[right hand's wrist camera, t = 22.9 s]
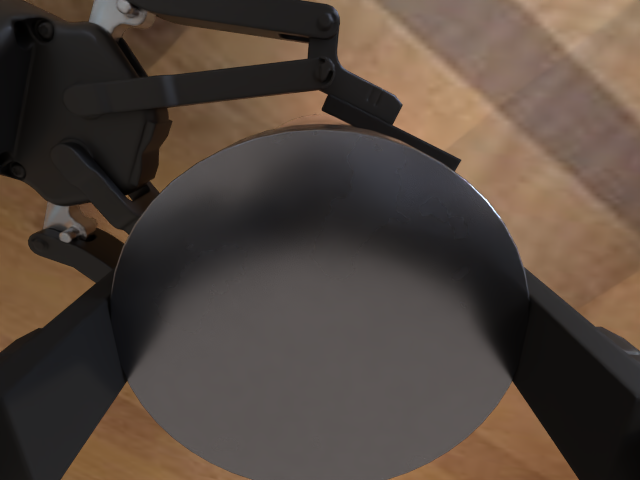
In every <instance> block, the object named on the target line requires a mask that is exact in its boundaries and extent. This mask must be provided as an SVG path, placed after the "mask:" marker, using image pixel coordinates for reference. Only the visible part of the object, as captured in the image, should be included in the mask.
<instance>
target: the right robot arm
mask: <svg viewBox="0 0 640 480" xmlns="http://www.w3.org/2000/svg"><path fill="white" fill-rule="evenodd" d="M115 269H116V267H115V268H114V269H113V270H111V271H110V272H109V273H108V274H107V275H105V276H104V277H103V278H102V279H101V280H100V281H98V282H97V283H96V284H95V285H94V286H92V287H91V288H90V289H89V290H88V291H86V292H85V293H84V294H83V295H82V296H80V297H79V298H78V299H77V300H76V301H74V302H73V303H72V304H71V305H70V306H68V307H67V308H66V309H65V310H64V311H62V312H61V313H60V314H59V315H58V316H56V317H55V318H54V319H53V320H52V321H50V322H49V323H48V324H47V325H46V326H45V327H43V328H38V329H36V330H34V331H32V332H30V333H28V334H26V335H25V336H23V337H21V338H19V339H17V340H15V341H14V342H13V343H12V344H10V345H9V346H8V347H7V348H5V349H4V350H3V351H2V352H0V480H60V479H61V478H62V477H63V475H64V474H65V472H66V471H67V469H68V468H69V466H70V465H71V463H72V462H73V460H74V459H75V457H76V456H77V454H78V453H79V451H80V450H81V448H82V447H83V445H84V444H85V443H86V441H87V440H88V438H89V437H90V435H91V434H92V432H93V431H94V429H95V428H96V426H97V425H98V423H99V422H100V420H101V419H102V417H103V416H104V414H105V413H106V411H107V410H108V408H109V407H110V406H111V404H112V403H113V401H114V400H115V398H116V397H117V395H118V394H119V392H120V391H121V389H122V388H123V386H124V385H125V383H126V382H127V379H126V376H125V374H124V372H123V370H122V368H121V365H120V361H119V357H118V352H117V348H116V343H115V339H114V335H113V330H112V325H111V320H110V302H111V291H112V285H113V279H114V273H115ZM524 270H525V274H526V280H527V286H528V292H529V322H528V327H527V332H526V336H525V341H524V345H523V350H522V354H521V359H520V363H519V367H518V369H517V371H516V373H515V376H514V378H513V380H512V381H513V382H514V384H515V385H516V387H517V388H518V390H519V391H520V393H521V394H522V396H523V397H524V399H525V400H526V402H527V403H528V405H529V406H530V408H531V409H532V411H533V412H534V414H535V415H536V417H537V418H538V419H539V421H540V422H541V424H542V425H543V427H544V428H545V430H546V431H547V433H548V434H549V436H550V437H551V439H552V440H553V442H554V443H555V445H556V446H557V448H558V449H559V451H560V452H561V453H562V455H563V456H564V458H565V459H566V461H567V462H568V464H569V465H570V467H571V468H572V470H573V471H574V473H575V474H576V476H577V477H578V479H579V480H640V351H639V350H638V349H636V348H635V347H634V346H633V345H631V344H630V343H629V342H628V341H626V340H625V339H624V338H622V337H620V336H618V335H616V334H614V333H612V332H610V331H608V330H607V329H605V328H603V327H595V326H594V325H593V324H591V323H590V322H589V321H588V320H587V319H585V318H584V317H583V316H582V315H581V314H579V313H578V312H577V311H576V310H575V309H574V308H572V307H571V306H570V305H569V304H568V303H566V302H565V301H564V300H563V299H562V298H560V297H559V296H558V295H557V294H556V293H554V292H553V291H552V290H551V289H550V288H548V287H547V286H546V285H545V284H544V283H542V282H541V281H540V280H539V279H538V278H536V277H535V276H534V275H533V274H532V273H530V272H529V271H528V270H527V269H526V268H525V267H524Z"/></svg>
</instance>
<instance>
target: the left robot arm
mask: <svg viewBox="0 0 640 480" xmlns="http://www.w3.org/2000/svg"><path fill="white" fill-rule="evenodd" d="M156 16H158V17H160V18H162V19H164V20H167V21H170V22H173V23H177V24H182V25H187V26H194V27H201V28H207V29H214V30H221V31H227V32H234V33H241V34H248V35H254V36H261V37H268V38H275V39H281V40H288V41H295V42H301V43H308V44H309V47H308V59H302V60H294V61H285V62H277V63H269V64H260V65H252V66H243V67H235V68H227V69H218V70H210V71H201V72H193V73H185V74H176V75H159V76H149V77H148V75H147V74H146V72H145V71H144V69H143V68H142V66H141V65H140V63H139V62H138V60H137V59H136V57H135V55H134V54H133V52H132V51H131V49H130V48H129V46H128V45H127V43H126V42H125V40H124V39H123V38H122V35H123V33H124V32H125V31H126V30H127V29H129V28H132V27H135V28H140V29H147V28H149V27H151V26H152V25H153V23H154V21H155V18H156ZM339 25H340V17H339V15H338V12H337V11H336V9H335V8H334V7H332V6H330V5H327V4H322V3H315V2H309V1H302V0H94V4H93V7H92V11H91V15H90V18H89V22H67V21H65V20H63V19H61V18H59V17H57V16H55V15H53V14H50V13H48V12H46V11H44V10H42V9H40V8H38V7H36V6H34V5H32V4H30V3H28V2H25V1H23V0H0V175H3V176H7V177H11V178H14V179H18V180H21V181H23V182H25V183H27V184H28V185H30V186H31V187H32V188H33V189H35V190H36V191H37V192H38V193H39V194H40V195H41V196H42V197H43V198H44V199H45V200H46V201H48V203H47V209H46V215H45V221H44V227H43V229H42V230H41V231H38V232H36V233H34V234H33V235H31V236H30V237H29V240H28V245H29V247H30V249H31V250H32V251H33V252H34V253H36V254H37V255H39V256H42V257H45V258H48V259H51V260H54V261H57V262H60V263H63V264H65V265H68V266H71V267H74V268H75V269H77V270H78V271H79V272H81V273H82V274H84V275H85V276H87V277H88V278H90V279H91V280H92V281H94V282H95V283H97V282H98V281H100V280H101V279H102V278H103V277H104V276H105V275H107V274H108V273H109V272H110V271H111V270H113V269H114V268H115V267H116V266H117V263H118V260H119V257H120V254H121V251H122V248H123V246H124V243H122V242H121V241H120V240H118V239H117V238H115V237H114V236H112V235H110V234H109V233H107V232H105V231H103V230H101V229H98V228H96V226H97V221H96V220H95V219H94V218H88V217H86V216H85V215H84V214H83V213H82V212H81V210H80V207H79V204H84V203H89V202H91V203H92V204H93V205H94V206H95V207H96V208H97V209H98V210H99V211H100V213H101V214H102V215H103V216H104V217H105V218H106V219H107V220H108V221H109V223H110V224H111V225H112V226H114V227H115V228H117V229H120V230H124V231H126V232H127V233H128V234H130V233H131V231H132V229H133V227H134V225H135V223H136V222H137V220H138V219H139V218H140V216H141V215H142V214H143V212H144V211H145V210H146V208H147V207H148V206H149V204H150V203H151V202H152V201H153V200H154V199H155V198H156V197H157V196H158V195H159V194H160V193H159V192H158V191H157V189H156V188H155V187H154V186H153V185H152V183H151V182H150V180H152V179H154V178H155V174H156V171H157V168H158V165H159V148H160V146H161V145H162V144H163V142H164V141H165V139H166V138H167V136H168V134H169V130H170V127H171V124H172V121H171V120H169V116H168V110H167V108H169V107H178V106H187V105H195V104H203V103H211V102H220V101H229V100H237V99H246V98H254V97H263V96H272V95H280V94H289V93H298V92H306V91H315V90H320V91H322V92H324V93H326V94H328V96H327V98H326V100H325V103H324V105H323V107H322V111H324V112H326V113H328V114H330V115H332V116H334V117H336V118H338V119H340V120H342V121H344V122H346V123H348V124H350V125H352V126H354V127H357V128H362V129H367V130H372V131H376V132H378V133H381V134H384V135H387V136H390V137H392V138H395V139H398V140H400V141H402V142H404V143H406V144H408V145H410V146H412V147H414V148H416V149H417V150H419V151H421V152H423V153H425V154H427V155H429V156H431V157H432V158H434V159H436V160H438V161H440V162H442V163H443V164H445V165H446V166H447V167H449V168H450V169H452V170H453V171H454V172H455V170H456V168H457V167H458V165H459V163H460V161H461V159H459V158H457V157H455V156H453V155H451V154H449V153H447V152H445V151H443V150H441V149H439V148H437V147H435V146H433V145H431V144H429V143H427V142H425V141H423V140H421V139H419V138H417V137H415V136H413V135H411V134H409V133H407V132H405V131H403V130H401V129H399V128H397V127H395V126H393V123H394V121H395V119H396V117H397V115H398V113H399V111H400V109H401V107H402V103H401V102H400V101H399V100H398V98H397V97H396V96H395V95H393V94H391V93H389V92H388V91H386V90H383V89H382V88H380V87H378V86H376V85H374V84H372V83H370V82H368V81H366V80H364V79H362V78H360V77H359V76H357V75H355V74H353V73H351V72H349V71H347V70H346V69H344V68H343V67H342V66H341V65H340V63H339V61H338V57H337V44H338V34H339ZM125 195H129V196H130V198H131V199H132V200H133V201H131V200H129V199H128V198H127V197H126V196H125Z"/></svg>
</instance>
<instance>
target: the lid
mask: <svg viewBox="0 0 640 480" xmlns="http://www.w3.org/2000/svg"><path fill="white" fill-rule="evenodd" d="M110 320H111V325H112V330H113V335H114V339H115V343H116V348H117V352H118V357H119V361H120V365H121V368H122V370H123V372H124V374H125V376H126V379H127V381H128V383H129V385H130V387H131V388H132V390H133V392H134V393H135V395H136V396H137V398H138V399H139V401H140V403H141V404H142V406H143V407H144V408H145V409H146V410H147V412H148V413H149V414H150V415H151V416H152V418H153V419H154V420H155V421H156V422H157V423H158V424H159V425H160V426H161V427H162V428H163V429H164V430H165V431H166V432H167V433H168V434H169V435H170V436H172V437H173V438H174V439H175V440H176V441H178V442H179V443H181V444H182V445H183V446H185V447H186V448H187V449H189V450H190V451H191V452H193V453H195V454H196V455H198V456H200V457H201V458H203V459H205V460H207V461H208V462H210V463H212V464H214V465H216V466H218V467H221V468H223V469H225V470H227V471H229V472H232V473H234V474H237V475H240V476H243V477H246V478H249V479H252V480H388V479H390V478H393V477H396V476H399V475H402V474H405V473H408V472H410V471H412V470H415V469H417V468H419V467H421V466H423V465H425V464H428V463H430V462H431V461H433V460H435V459H436V458H438V457H440V456H442V455H443V454H445V453H447V452H448V451H450V450H451V449H452V448H454V447H455V446H456V445H458V444H459V443H460V442H462V441H463V440H464V439H466V438H467V437H468V436H469V435H470V434H471V433H472V432H473V431H474V430H475V429H477V428H478V427H479V426H480V425H481V424H482V423H483V422H484V421H485V419H486V418H487V417H488V416H489V415H490V413H491V412H492V411H493V410H494V409H495V407H496V406H497V405H498V403H499V402H500V400H501V399H502V397H503V396H504V394H505V393H506V391H507V389H508V388H509V386H510V384H511V382H512V380H513V378H514V376H515V373H516V371H517V369H518V367H519V363H520V359H521V354H522V350H523V345H524V341H525V336H526V332H527V327H528V322H529V292H528V286H527V280H526V274H525V270H524V267H523V264H522V261H521V258H520V255H519V252H518V249H517V246H516V244H515V243H514V241H513V239H512V237H511V235H510V233H509V231H508V229H507V227H506V225H505V223H504V222H503V221H502V219H501V218H500V217H499V215H498V214H497V213H496V211H495V210H494V209H493V207H492V206H491V205H490V203H489V202H488V201H487V200H486V199H485V198H484V197H483V196H482V195H481V194H480V193H479V192H478V191H477V190H476V189H475V188H474V187H473V186H472V185H471V184H470V183H469V182H468V181H467V180H465V179H464V178H463V177H461V176H460V175H458V174H457V173H456V172H454V171H453V170H452V169H450V168H449V167H447V166H446V165H445V164H443V163H442V162H440V161H438V160H436V159H434V158H432V157H431V156H429V155H427V154H425V153H423V152H421V151H419V150H417V149H416V148H414V147H412V146H410V145H408V144H406V143H404V142H402V141H400V140H398V139H395V138H392V137H390V136H387V135H384V134H381V133H378V132H376V131H372V130H367V129H362V128H357V127H353V126H348V125H334V124H306V125H292V126H287V127H282V128H278V129H273V130H268V131H264V132H261V133H259V134H256V135H253V136H250V137H247V138H245V139H242V140H239V141H237V142H236V143H234V144H232V145H230V146H228V147H226V148H224V149H222V150H220V151H218V152H217V153H215V154H213V155H211V156H209V157H207V158H206V159H204V160H202V161H200V162H198V163H196V164H195V165H194V166H192V167H191V168H190V169H188V170H187V171H185V172H184V173H183V174H181V175H180V176H179V177H177V178H176V179H174V180H173V181H172V182H171V183H170V184H169V185H168V186H167V187H166V188H165V189H164V190H163V191H162V192H161V193H160V194H159V195H158V196H157V197H156V198H155V199H154V200H153V201H152V202H151V203H150V204H149V206H148V207H147V208H146V210H145V211H144V212H143V214H142V215H141V216H140V218H139V219H138V220H137V222H136V223H135V225H134V227H133V229H132V231H131V233H130V234H129V236H128V238H127V240H126V242H125V244H124V246H123V248H122V251H121V254H120V257H119V260H118V263H117V266H116V269H115V273H114V279H113V285H112V291H111V302H110Z"/></svg>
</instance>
